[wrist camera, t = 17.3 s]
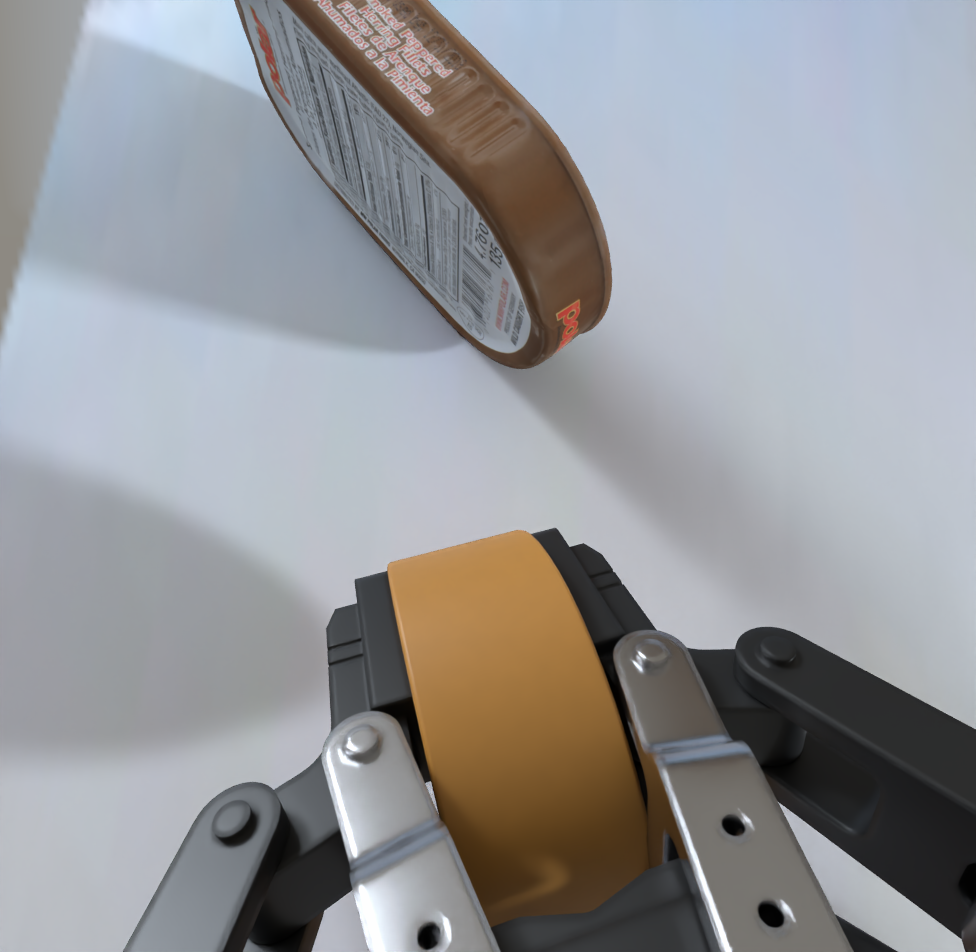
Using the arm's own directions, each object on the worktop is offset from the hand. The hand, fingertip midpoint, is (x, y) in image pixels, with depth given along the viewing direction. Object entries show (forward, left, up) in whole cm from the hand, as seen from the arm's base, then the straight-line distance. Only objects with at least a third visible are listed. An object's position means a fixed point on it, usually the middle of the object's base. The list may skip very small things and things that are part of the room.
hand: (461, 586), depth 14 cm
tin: (+2, +13, -6) cm, 14 cm away
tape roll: (0, -2, -4) cm, 4 cm away
